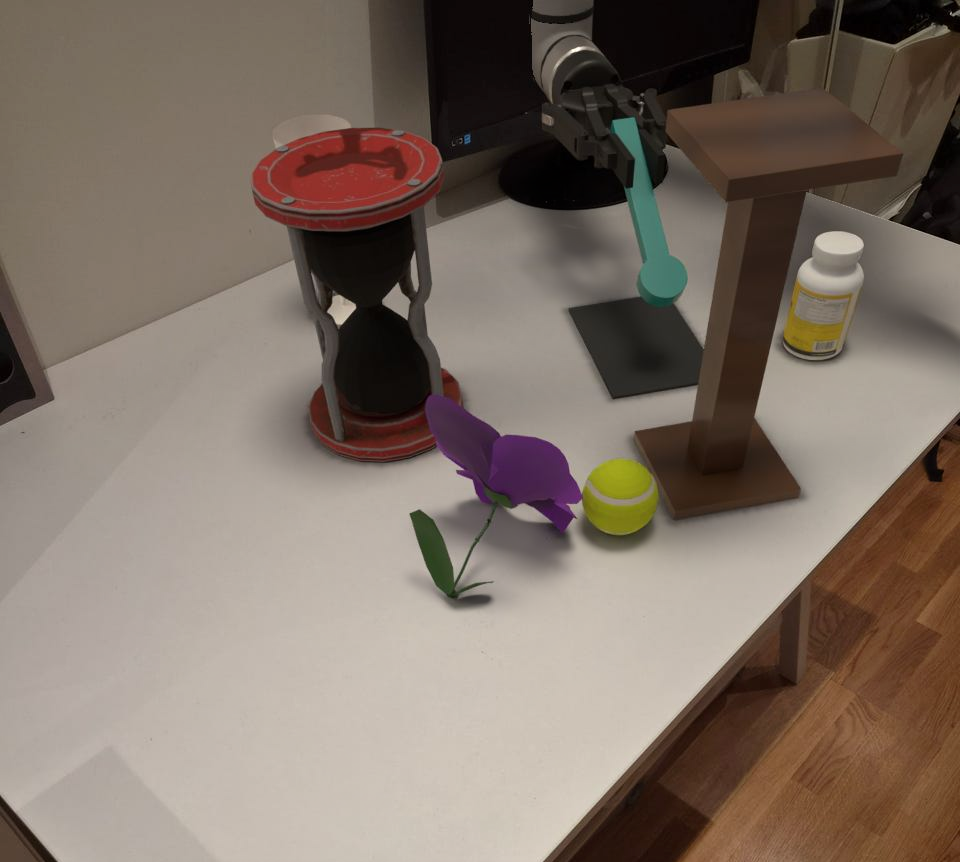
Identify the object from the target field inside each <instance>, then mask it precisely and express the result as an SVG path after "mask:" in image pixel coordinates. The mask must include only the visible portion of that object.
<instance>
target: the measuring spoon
mask: <svg viewBox="0 0 960 862" xmlns="http://www.w3.org/2000/svg"><path fill="white" fill-rule="evenodd" d="M609 132H610V133H609V134H612V133H616V134H617V135H618V137H619V138H620V139H621V141H622V142H623V143H624V145H625V146H626V147H627V149H628V150H629V151H630V153H631V154H632V155H633V157H634V158H635V168H634V181H633V188H625V187H624V186H623V188H624V191H625V197H626V201H627V205H628V208H629V209H628V210H629V212H630V217H631V222H632V225H633V229H634V233H635V237H636V241H637V245H638V249H639V253H640V257H641V261H642V265H641V268H640V270H639V272H638V274H637V277H636V288H637V292H638V294H639V295H640V296H639V297H642V298H643V299H644V300H645V301H646V302H648V303H649V304H652V305H654V306H660V307H663V306H668V305H671V304H673V303H674V304H675V303H676V302H678V300H679V299H680V298H681V296H682V294H683V292H684V291H685V289H686V287H687V284H688V279H689V278H688V271H687V269H686V266H685V265H684V264H683V262H682V261H681V260H680V259H678V258H677V257H675V256H673V255H670V252H669V251H670V250H669V247H668V243H667V240H666V235H665V231H664V228H663V227H664V226H663V224H662V220H661V219H662V218H661V216H660V211H659V208H658V207H659V206H658V204H657V200H656V196H655V192H654V187H653V185H652V184H653V183H652V179H651V178H650V176H649V172H648V168H647V164H646V160H645V156H644V152H643V148H642V144H641V140H640V137H639V133H638V128H637V124H636V120H635V117H632V118H625V119H618V120H613V121H612V124H611V128H610V130H609Z"/></svg>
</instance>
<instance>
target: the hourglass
mask: <svg viewBox="0 0 960 862" xmlns="http://www.w3.org/2000/svg"><path fill="white" fill-rule="evenodd" d="M444 174H445V173H444V165H443V158H442V155H441V153H440V150H439V148H438V147H437V146H435V145H434V144H433V143H431V142H430V141H429V140H427V139H426V138H425V137H422V136H421V135H417V134H414V133H412V132H408V131H405V130H402V129H392V128H387V127H386V128H385V127H351V128H347V129H340V130H333V131H325V132H321V133H317V134H314V135H310V136H306V137H303V138H299V139H296V140H294V141H292V142H290V143H287V144H285V145H283V146H280V147H278V148H275V149H273V150H272V151H270V152H269V153H268V154H266V155H265V156H264V157H262V158H261V159H259V161H258V162H257V164H256V165H255V167H254V168H253V170H252V171H251V173H250V188H251V193H252V197H253V200H254V205H255V206H256V207H257V209H258V210H259V211H260V212H261V213H262V214H263V216H265V218H267V219H270V220H272V221H274V222H277V223H279V224H281V225H282V226H285V227H286V230H287V233H288V239H289V243H290V248H291V252H292V255H293V260H294V265H295V269H296V273H297V279H298V282H299V288H300V291H301V292H300V293H301V296H302V300H303V304H304V306H305V308H306V309H307V311H308V313H309V315H310V316H311V317H313V322H314V326H315V332H316V335H317V340H318V345H319V348H320V354H321V358H322V362H321V374H320V375H321V384H320V385H319V386H318V387H317V388H316V389H315V390H314V392H313V394H312V397H311V399H310V402H309V404H308V415H309V422H310V427H311V429H312V433H313V434H314V435H315V437H316V439H317V440H318V442H319V443H320V444H321V445H322V446H323V447H325V448H326V449H328V450H329V451H331V452H333V453H334V454H336V455H338V456H340V457H344V458H347V459H348V458H349V459H351V460H355V461H358V462H359V461H360V462H379V463H385V462H390V461H391V462H392V461H399V460H404V459H409V458H412V457H415V456H417V455H419V454H422V453H424V452H427V451H430V450H432V449H434V448H435V447H437V445H436V439H435V437H434V435H433V434H432V432H431V431H430V427H429V424H428V420H427V416H426V411H425V408H426V401H427V399H428V397H429V396H430V395H434V394H437V395H441V396H444V397H447V398H450V399H452V400H453V401H454V402H456V403H457V404H458V405H460V406H461V407H462V408H464V400H463V399H464V398H463V392H462V390H461V386H460V383H459V381H458V380H457V379H456V378H455V377H454V376H453V375H452V374H451V373H450V372H449V371H448V370H447V369H445V368H444V367H442V365H441V358H440V356H439V353H438V350H437V347H436V346H435V344H434V343H433V341H432V339H431V338H430V337H429V334H428V324H427V314H426V307H425V304H426V303H427V301H428V300H429V298H430V295H431V291H432V287H433V280H432V279H433V278H432V269H431V261H430V252H429V251H430V249H429V244H428V242H429V241H428V233H427V224H426V215H425V206H426V205H427V204H428V203H429V202H430V201H431V200H432V199H433V198H435V197H436V196H437V195H438V193H440V191H441V188H442V185H443V182H444V180H445V175H444ZM414 255H415V263H416V271H417V280H418V281H417V282H418V286H417V290H416V289H415V286H414V283H413V278H412V260H413V257H414ZM314 282H315V283H314ZM397 284H398V287H399V289H400V292H401V294H403V295H404V296H405V297H406V298H407V299H408V300H409V305H408V314H407V319H406V318H405V317H404V316H403V315H401V314H399V312H396V311H395V310H393V309H392V308H391V307H388V306H387V305H385V304H384V303H383V300H384V299H385V298H386V297H387V296H388V295H389V294H390V292H392V290H393V289H394V288H395V287H396V286H397ZM315 286H316V288H315ZM316 289H317V291H318V297H317V293H316ZM333 292H334V293H336V294H337V295H341V296H342V297H344V298H346V299H347V300H349V301H351V302H352V303H354V304H356V309H355V310H354V311H353V312H352V313H351V314H350V316H349V317H348V318H347V319H346V320H345V322H344V323H343V324H340V326H339V327H338V324H336V323H335V320H334V318H333V316H332V315H331V314H329V313H328V312H327V311H328V309H329V308H330V307H331V305H332V297H334V296H333V295H334V294H333Z"/></svg>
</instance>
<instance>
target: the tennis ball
mask: <svg viewBox="0 0 960 862" xmlns="http://www.w3.org/2000/svg"><path fill="white" fill-rule="evenodd" d="M581 494H582V496H583V499H582V500H581V503H582V509H583V512H584V514H585V516H586V518H587V519H588V521H589V522H590V523H591V524H592V525H593V526H594V527H595V528H597V529H598V530H600V531H601V532H603V533H605V534H609V535H612V536H626V535H630V534H633V533H635V532H637V531H639V530H640V529H642V528H643V527H644V526H645V527H646V525H647V524H648V523H649V522H650V521H651V520H652V519H653V516H654V515H655V513H656V511H657V508H658V504H659V490H658V487H657V484H656V481H655V479H654V477H653V476H652V474H651V473H650V472H649V470H648V468H647V466H646V465H644V464H642V463H639V462H638V461H636V460H633V459H630V458H613V459H610V460H606V461H604V462H603V463H601V464H598V466H596V467H595V468H594V469H593V470H592V471H591V472H590V473H589V475H588V476H587V478H586V480H585V483H584V486H583V488H582V492H581Z"/></svg>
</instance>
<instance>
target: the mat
mask: <svg viewBox="0 0 960 862" xmlns="http://www.w3.org/2000/svg"><path fill="white" fill-rule="evenodd" d="M568 313H569V315H570V317H571V319H572V321H573V323H574V325H575V328H576V329H577V331H578V333H579V335H580V337H581V339H582V341H583V342H584V345H585V347H586V349H587V351H588V353H589V355H590V356H591V359H592V360H593V363H594V365H595V366H596V369H597V371H598V372H599V375H600V377H601V380H602V381H603V382H604V385H605V387H606V389H607V391H608V392H609V395H610V397H611V399H612V400H617V399H624V398H630V397H635V396H636V397H637V396H641V395H647V394H653V393H659V392H665V391H671V390H672V391H673V390H677V389H682V388H688V387H694V386H698V382H699V376H700V370H701V364H702V358H703V351H704V347H703V345H701V343H700V341H699V340H698V338H697V337H696V336H695V333H694V332H693V331H692V329H691V327H690V326H689V324H688V323H687V322H686V320H685V318H684V316H683V315H682V314H681V312H680V310H679V309H678V308H677V306H676V305H675V303H673V304H671V305H668V306H663V307H660V306H654V305H652V304H649V303H648V302H646V301H645V300H644V299H643V298H642V297H641V296H635V297H628V298H622V299H616V300H610V301H604V302H598V303H593V304H592V303H591V304H586V305H578V306H573V307H568Z"/></svg>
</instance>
